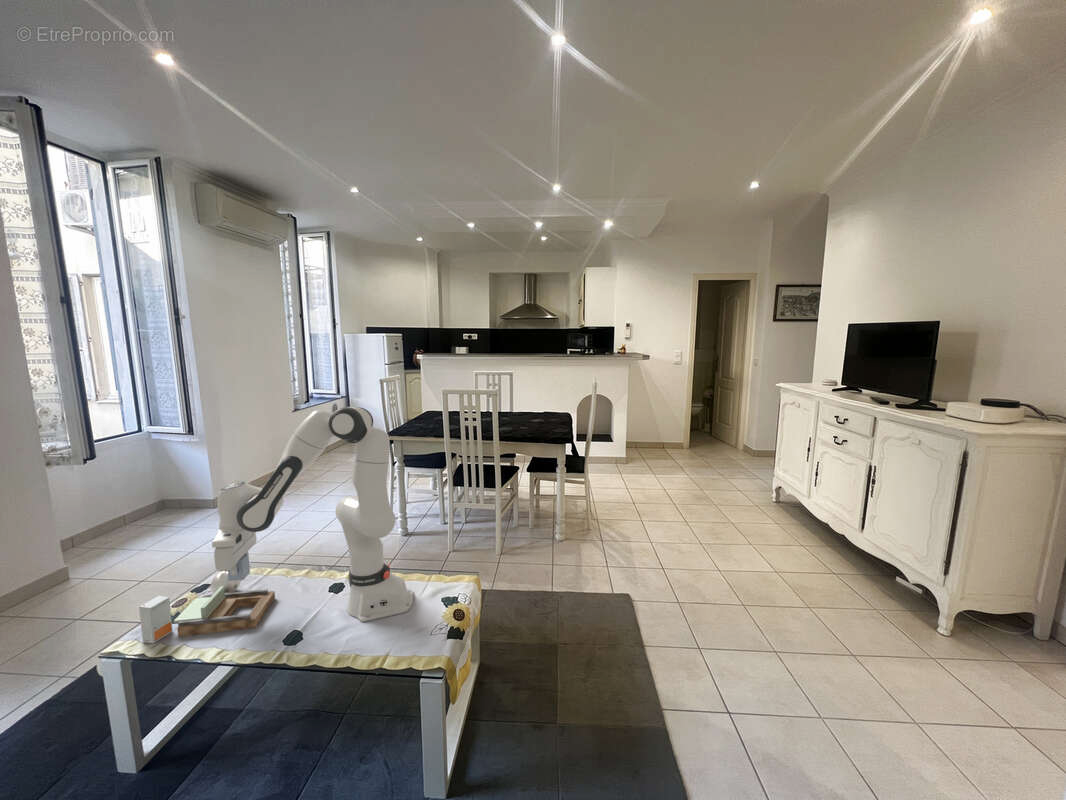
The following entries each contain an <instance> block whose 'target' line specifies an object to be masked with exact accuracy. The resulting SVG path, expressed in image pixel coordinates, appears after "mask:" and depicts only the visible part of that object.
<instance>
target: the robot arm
mask: <svg viewBox="0 0 1066 800" xmlns="http://www.w3.org/2000/svg"><path fill="white" fill-rule="evenodd" d="M373 425H374V418H373V415H372V413H371V412H370V411H369V410H368V409H365V408H363V407H360V406H359V407H358V406H347V407H340V408H339V409H338V408H337V410H335V411H333V413H331V412H330V411H327V410H324V409H316V410H314V411H312V412H311V413H310V414H308V415H307V416H306V417H305V419H304V420H303V421H302V422H301V423H300V424H299V426H298V427H297V428H296V429H295V431H294V432H293V433H292V435H291V437H290V438H289V440H288V442H287V444H286V446H285V448H284V450H283V453H282V455H281V457H280V459H279V461H278V464H277V466H276V468H275V469H274V471H273V473H272V474H271V476H270V477H269V478H268V480H267V482H266V483H265V484H264V486H263V487H258V486H255V485H251V484H250V483H248V482H247V481H235V482H231V483H229V484H226V485H225V486H223V487H222V488H221V489H220V490H219V491H218V495H217V513H218V516H219V523H218V527H219V528H218V531H217V534H216V535H215V537H214V539H213V540H212V543H211V547H212V548H214V552H213V558H214V566H215V570H216V571H217V572H223V571H229V570H230V573H231V575H237V573H238V572H239V571H238V570H239V568H237V567H236V565H237V562H238V561H239V560H240V559H241V558H242V557H243V556H244V555H245V554H248V553H249V551H250V550H251V549H252V547H253V546H255V545H256V543H257V533H258V532H262V531H265V530H267V529H268V528H269V527H270V526H271V525H272V523H273V521H274V519H275V517H276V516H277V514H278V513H279V511H280V510H281V508H282V506H283V504H284V498H283V497H284V495H285V494H286V492H287V491H288V489H289V488H290V487H291V485H292V484H293V483H294V481H295V480H296V479H297V478H298V477H299V476H300V475H301V474H302V473H303V472H304V471H306V470H307V468H309V467H310V466H311V465H312V464H313V463H314V462H315V461H316V460H317V459H318V458H319V457H320V456H321V455H322V453H323V452H324V451H325V449H326V448H327V447H328V445H329V443H330V442H331V441H332V440H333V439H334V437H335V438H336V437H337V438H338V439H341V440H343V441H346V442H348V443H350V444H355V447H356V454H355V458H354V468H353V474H352V485H353V487H354V488H355V491H356V495H346V496H345V497H343V498H341V499H340V500H339V502H338V503H337V504H336V507H335V516H336V518H337V520H338V522H339V523H340V525H341V528H342V531H343V534H344V538H345V541H346V544H347V548H348V553H349V554H348V556H349V557H348V558H349V571H348V585H349V588H350V589H349V597H348V603H347V607H346V612H347V613H348V615H350V616H352V617H355V618H357V619H358V621H360V622H368V621H373V620H377V619H381V618H386V617H390V616H394V615H399V614H404V613H406V612H408V611H409V610H410V609H411V607H412V605H413V603H414V592H413V590H412V588H410V587H407V585H406V581H405V580H404V579H403V578H402V577H400V576H398V575H396V574H393V573H392V572H391V569H390V568H391V567H390V563H387V564H386V563H385V561H384V544H383V542H382V540H381V539H382V538H384V537H387V536H388V535H389V534H391V532H392V531H393V530H394V528H395V525H396V522H397V521H396V520H397V519H396V518H397V517H396V515H395V513H394V510H393V509H392V506H391V504H390V500H389V494H388V487H387V486H388V485H387V483H388V481H387V480H388V474H389V473H388V471H389V463H390V454H391V453H390V452H391V450H390V449H391V447H390V446H391V444H390V436H389V434H388V433H387V432H386V431H385V430H383V429H381V428H375V427H373Z"/></svg>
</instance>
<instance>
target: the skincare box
mask: <svg viewBox="0 0 1066 800" xmlns="http://www.w3.org/2000/svg"><path fill="white" fill-rule="evenodd" d="M138 608H139V609H138V610H139V617H140V618H139V620H140V628H141V638H142V642H143V643H148V644H152V645H153V644H155V643H156V642H158V641H159V640H161V639H163V638H164V637H166V636H167V635H169V634H171V633H173V622H172V612H171V601H170V596H163V595H158V596H156V597H154V598H152V599H150V600H149V601H146V602H145V603H144V604H141V605H140V606H139V607H138Z"/></svg>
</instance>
